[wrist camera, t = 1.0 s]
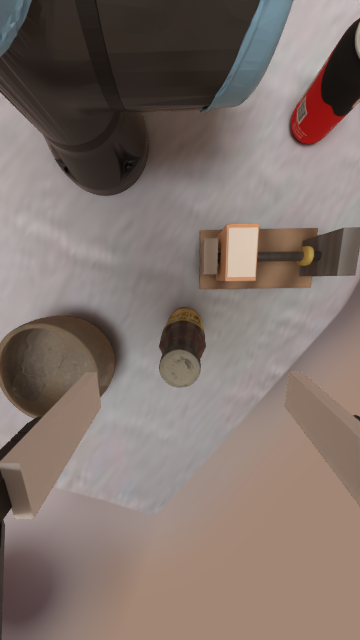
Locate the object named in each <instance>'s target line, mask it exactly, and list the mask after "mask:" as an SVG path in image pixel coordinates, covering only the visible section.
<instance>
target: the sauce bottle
mask: <svg viewBox="0 0 360 640" xmlns="http://www.w3.org/2000/svg"><path fill="white" fill-rule="evenodd" d="M159 347H160V350H161V352H162V354H163V355H162V357H161V360H160V365H159V370H160V374H161V376H162V378H163V379H164V380H165V381H166V383H168V384H169V385H171V386H174V387H187V386H189V385H191V384H193V383H194V382H195V381H196V380H197V378H198V377H199V374H200V368H201V367H200V366H201V364H200V358H201V356H202V354H203V352H204V349H205V348H206V343H205V334H204V330H203V325H202V321H201V318H200V316H199V315H198V314H197V313H196V312H195V311H193V310H191V309H187V308H182V309H179V310H176V311H175V312H174V313H173V314H172V315H171V316H170V318H169V320H168V322H167V324H166V326H165V328H164V330H163V332H162V336H161V340H160V345H159Z"/></svg>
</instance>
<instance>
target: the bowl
mask: <svg viewBox="0 0 360 640" xmlns="http://www.w3.org/2000/svg"><path fill="white" fill-rule="evenodd" d="M114 368H115V358H114V352H113V349H112V347H111V344H110V343H109V341H108V339H107V338H106V337H105V335H104V334H103V333H102V332H101V331H100V330H99V329H98V328H97V327H95V326H94V325H92V324H91V323H89V322H87V321H85V320H82V319H79V318H76V317H70V316H52V317H46V318H41V319H37V320H34V321H31V322H28V323H26V324H24V325H21V326H19V327H18V328H16V329H14V330H13V331H11V332H10V333H9V334H7V335H6V336H5V337H4V338H3V340H2V341H1V343H0V387H1V389H2V391H3V392H4V394H5V396H6V397H7V398H8V400H9V401H10V402H11V403H12V404H13V405H14V406H15V407H16V408H18V409H19V410H20V411H22V412H23V413H24V414H26V415H28V416H30V417H32V418H34V419H35V418H36V417H43V416H44V415H45V414H46V413H47V412H48V411H49V410H50V409H51V408H52V407H53V406H54V405H55V404H56V403H57V402H58V401H59V400H60V399H61V398H62V396H63V395H64V394H65V393H66V392H67V391H68V390H69V389H70V388H71V387H72V386H73V385H74V384H75V383H76V382H77V381H78V380H79V379H80V378H81V377H82V376H83V375H84V374H85V373H86V372H97V379H98V386H99V394H100V397H101V396H102V395H103V393H104V392H105V391H106V390H107V388H108V386H109V384H110V382H111V379H112V377H113V373H114Z"/></svg>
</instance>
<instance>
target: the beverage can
mask: <svg viewBox="0 0 360 640" xmlns="http://www.w3.org/2000/svg"><path fill="white" fill-rule="evenodd" d="M359 102H360V18H359V19H358V20H356V21H355V22H354V23H353V24H352V25H351V26H350V27H349V28H348V29H347V31H346V32H345V33H344V35H343V36H342V38H341V39H340V41H339V42H338V44H337V45H336V47H335V48H334V50H333V51H332V53H331V55H330V56H329V58H328V59H327V61H326V62H325V64H324V65H323V67H322V68H321V70H320V71H319V73H318V74H317V76H316V77H315V79H314V80H313V82H312V83H311V85H310V86H309V88H308V89H307V91H306V92H305V94H304V95H303V97H302V99H301V100H300V102H299V103H298V105H297V106H296V108H295V110H294V112H293V116H292V121H291V125H292V131H293V134H294V136H295V137H296V138H297V139H298V140H299V141H300V142H302V143H306V144H311V143H315V142H317V141H319V140H321V139H322V138H324V137H325V136H326V135H327V134H328V133H329V132H330V131H331V130H332V129H333V128H334V127H335V126H336V125H337V124H338V123H339V122H340V121H341V120H342V119H343V118H344V117H345V116H346V115H347V114H348V113H349V112H350V111H351V110H352V109H353V108H354V107H355V106H356V105H357V104H358V103H359Z"/></svg>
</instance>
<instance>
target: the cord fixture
mask: <svg viewBox="0 0 360 640" xmlns="http://www.w3.org/2000/svg"><path fill="white" fill-rule="evenodd" d="M221 231H222V230H200V289H236V288H311V282H312V276H352V275H355V273H356V267H357V261H358V255H359V249H360V227H356V228H342V229H338V230H335V231H332V232H329V233H326V234H323V235H319V236H317V232H318V228H297V229H259V235H258V250H257V266H256V281H216V274H217V262H221V253H218V238H217V236H218V235H219V234H220V232H221Z"/></svg>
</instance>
